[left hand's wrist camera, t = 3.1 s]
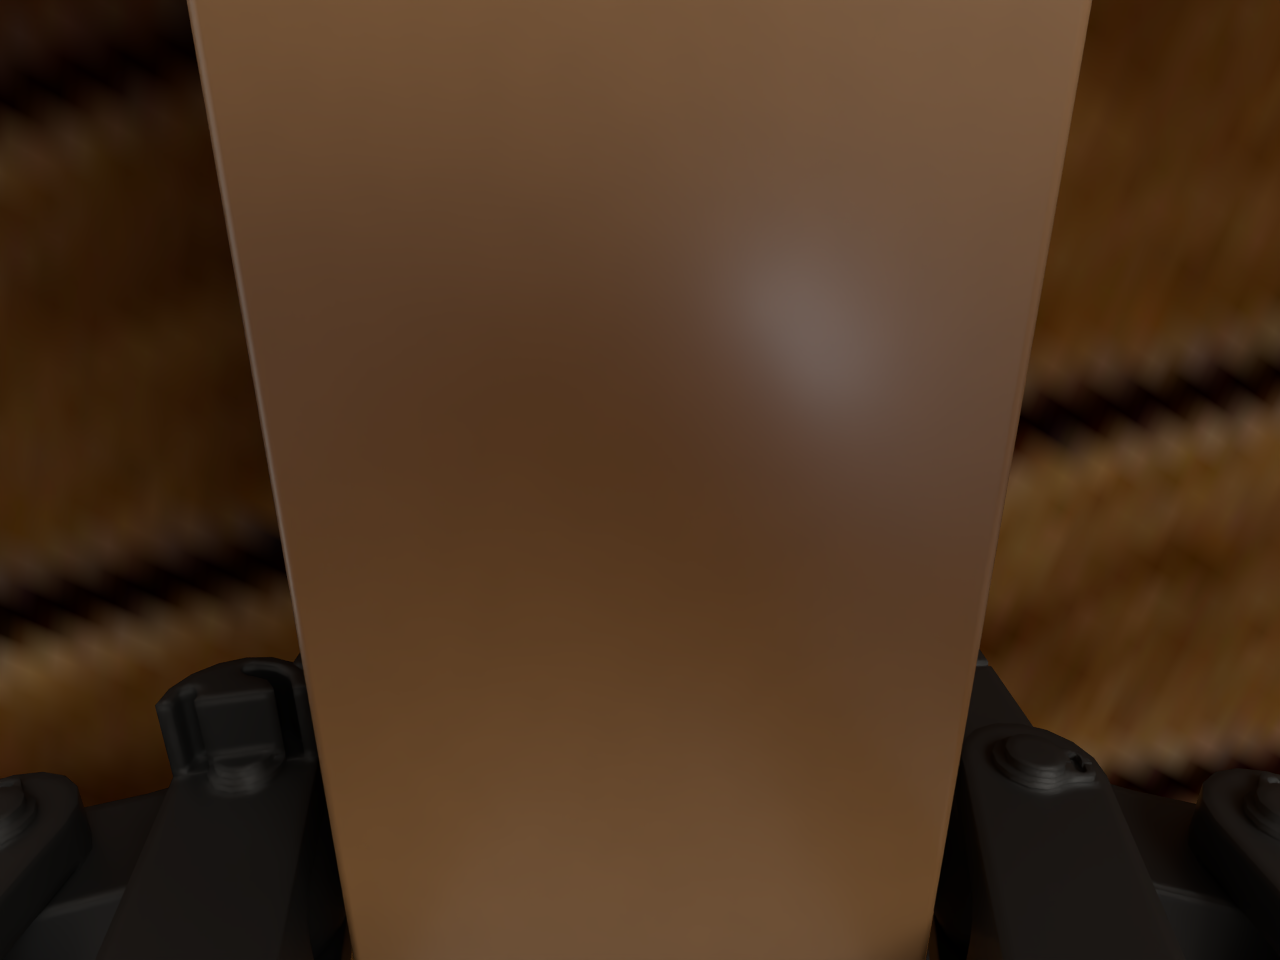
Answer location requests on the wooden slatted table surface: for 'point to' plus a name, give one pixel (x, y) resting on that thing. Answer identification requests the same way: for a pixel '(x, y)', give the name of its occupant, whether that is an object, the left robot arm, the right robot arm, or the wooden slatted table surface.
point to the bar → (639, 443)
